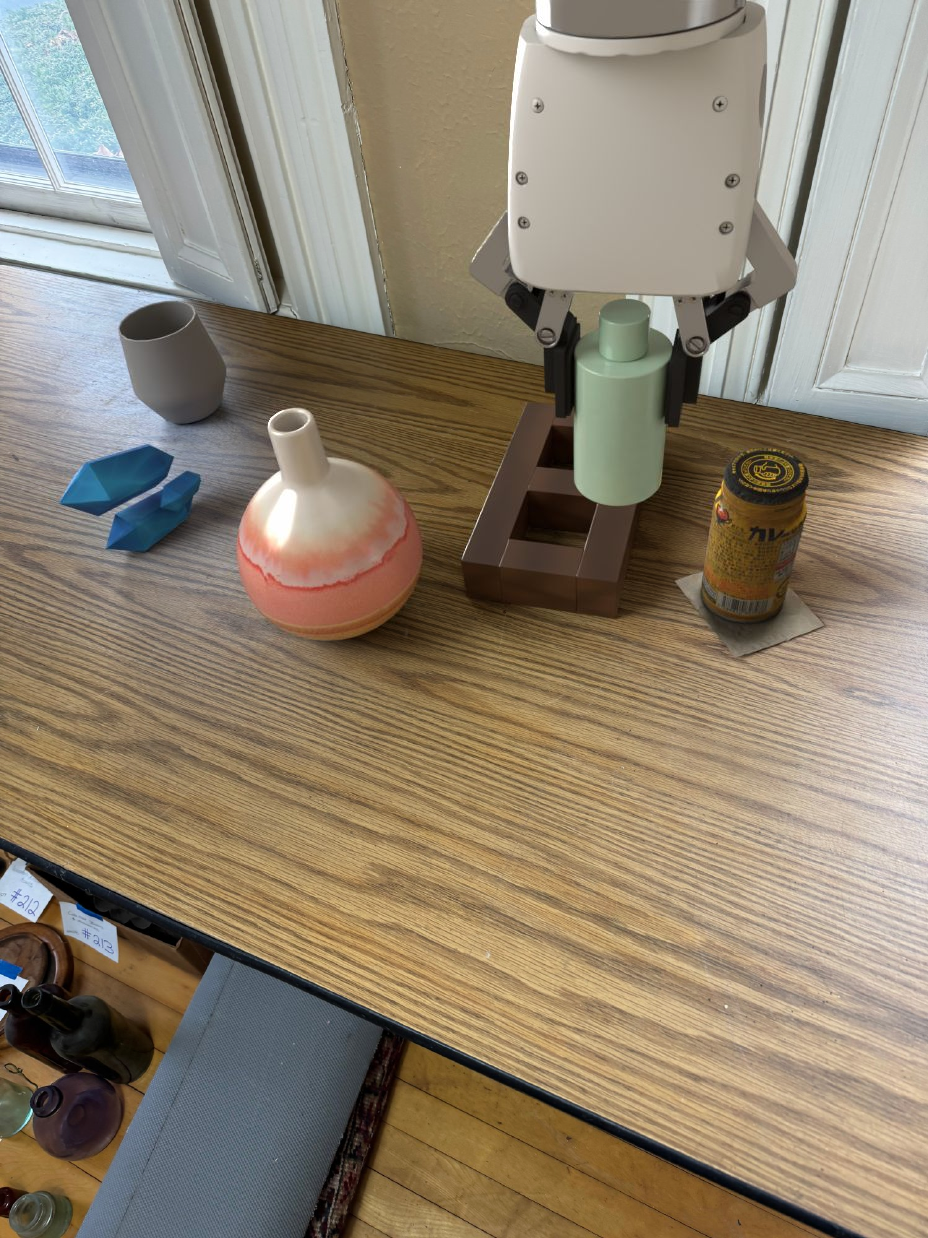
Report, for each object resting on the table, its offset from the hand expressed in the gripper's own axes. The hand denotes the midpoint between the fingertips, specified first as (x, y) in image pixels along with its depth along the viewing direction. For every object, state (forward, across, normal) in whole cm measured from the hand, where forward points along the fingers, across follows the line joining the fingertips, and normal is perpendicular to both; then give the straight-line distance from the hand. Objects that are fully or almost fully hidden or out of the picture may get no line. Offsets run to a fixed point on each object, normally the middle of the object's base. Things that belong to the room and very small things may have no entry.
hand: (620, 403), depth 44 cm
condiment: (+23, -9, -8) cm, 26 cm away
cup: (+23, +48, -26) cm, 59 cm away
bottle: (+5, 0, 0) cm, 5 cm away
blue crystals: (+23, +42, -8) cm, 49 cm away
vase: (+23, +21, -3) cm, 31 cm away
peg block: (+23, +6, -16) cm, 28 cm away
